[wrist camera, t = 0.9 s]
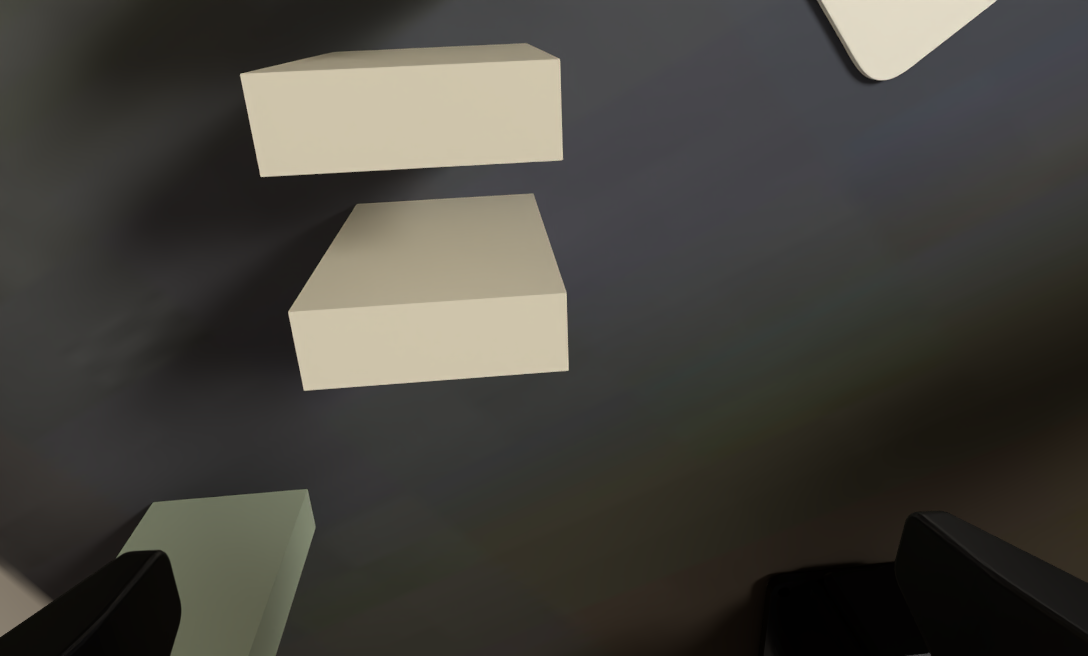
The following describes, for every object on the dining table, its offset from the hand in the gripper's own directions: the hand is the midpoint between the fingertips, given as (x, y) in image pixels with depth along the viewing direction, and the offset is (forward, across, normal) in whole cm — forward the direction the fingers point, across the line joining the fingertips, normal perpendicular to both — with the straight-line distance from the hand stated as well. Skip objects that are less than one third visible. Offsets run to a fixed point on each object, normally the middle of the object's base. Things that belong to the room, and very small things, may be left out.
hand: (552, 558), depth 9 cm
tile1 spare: (+13, +9, +9) cm, 19 cm away
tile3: (+13, +2, -5) cm, 14 cm away
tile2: (+13, +2, -1) cm, 13 cm away
